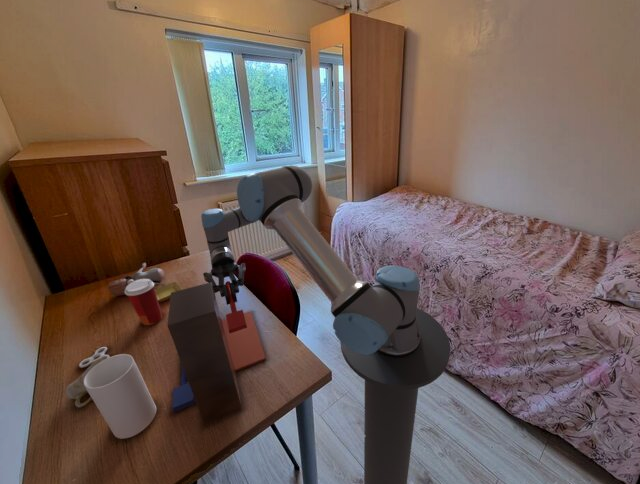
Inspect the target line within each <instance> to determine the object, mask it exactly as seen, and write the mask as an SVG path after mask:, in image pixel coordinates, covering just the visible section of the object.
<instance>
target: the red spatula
mask: <svg viewBox="0 0 640 484" xmlns="http://www.w3.org/2000/svg"><path fill="white" fill-rule="evenodd" d="M230 283H231V281H229V280H227V281H225V282H224V285H225V284H226V288H227V293H228V297H229V302H230V304H229V308H230V311H231V312H230V313H229V312H228V313H227V314H225V319H227V324H228V329H229V333H233V332H236V331H239V330H242V329H245V328H247V325H246V321H245V317H244V313H245V312H244V310H243V309H239V310H237V306H236V302H234V297H233V293H232V289H231V284H230Z"/></svg>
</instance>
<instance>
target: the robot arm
mask: <svg viewBox="0 0 640 484" xmlns="http://www.w3.org/2000/svg"><path fill="white" fill-rule="evenodd" d="M312 191H313V181H312V178H311V176H310V174H309V173H308V172H307V171H306V170H305V169H304V168H302V167H300V166H297V165H293V164H291V165H284V166H283V165H282V166H279V167H275V168H271V169H267V170H263V171H259V172H257V171H254V172H252V173H250V174H247V175H244V176H242V177H241V178H240V179H239V181H238V183H237V188H236V198H237V203H238V207H236V208H233V209H229V210H227V211H224V210H223V209H221V208H209V209H207V210H205V211H203V212H202V213H201V215H200V218H201V224H202V228H203V231H204V235H205V238H206V243H207V247H208V251H209V256H210V264H211V269H210V271H209V272H203V273H202V275H203V279H204V281H205V282H207V283H210V282H212V286H213V289H214V293H215V294H217V293H218V292H219V294H220V297H221V298H225V303H226V305H230V302H229V297H228V293H227V288H226V284H225V278H229V279H230V284H231V289H232V293H233V297H234V302H235V303H237V302H238V299H237V294H238V293H240V289H239V287H243V286H244V285H245V272H246V271H247V267H246V263H245V262H243V263H241V264H239V265H238V263H236V260H235V256H234V253H233V250H232V245H231V240H230V237H229V232H232V231H235V230H237V229H240V228H242V227H245V226H248V225H251V224H255V223H256V222H258V221H260V223H261V224H262V225H263V226H264V228H265V229H268V230H274V231H275V232H276V234H277V235H278V236H279V237H280V239H281V240H282V241H283V243H284V244H285V245H286V246H287V248H288V249H289V250H290V251H291V253H292V254H293V255H294V257H295V258H296V259H297V260H298V262H299V263H300V264H301V265H302V267H303V268H304V269H305V270H306V272H307V273H308V274H309V276H310V277H311V279H312V280H313V281H314V282H315V283H316V285H317V286H318V287H319V288H320V290H321V291H322V292H323V294H324V295H325V296H326V298H327V300H329V302H331V305H330V313H331V315H332V316H333V317H334V320H333V323H332V329H333V330H334V335H335V336H336V338H337V340H338V341H339V342H341V343H342V344H343V345H345V346H346V347H347V348H348V349H350V350H352V351H353V352H357V353H359V354H363V355H369V354H373V353H375V352H376V351H378V352H379V353H381V354H383V355H385V356H388V357H394V358H401V357H406V356H409V355H411V354H413V353H414V352H415V351H416V350H417V349H418V347H419V344H420V331H419V328H418V325H417V321H416V313H417V308H418V304H419V303H418V302H419V295H420V294H419V293H420V288H421V287H420V278H419V276H418V275H417V273H416V272H415V271H413V270H412V269H410V268H408V267H404V266H400V265H385V266H382V267H380V268H378V269H377V271H376V273H375V277H374V278H375V283H373V285H371V284H370V283H369V281H367V280H360V279H358V278H357V276H356V275H355V274H354V273H353V272H352V271H351V269H350V268H349V267H348V266H347V264H346V263H345V261H344V260H343V259H342V258H341V257H340V256H339V254H338V253H337V252H336V251H335V249H334V248H333V247H332V246H331V245H330V243H329V242H328V241H327V239H325V238H324V236H323V235H322V234H321V232H320V231H319V229H317V228H316V226H315V225H314V224H313V223H312V221H311V220H310V219H309V218H308V217H307V215H306V214H305V213H304V212H303V210H302V203H304V202H305V201H307V200H308V199H309V198H310V196H311V194H312ZM237 271H238V278H236V275H235V273H237ZM213 277H215V278H217V279H218V280H217V281H218V284H217V283H216V281H215V280H214V278H213Z"/></svg>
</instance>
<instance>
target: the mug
mask: <svg viewBox="0 0 640 484" xmlns="http://www.w3.org/2000/svg"><path fill="white" fill-rule="evenodd" d="M105 359H107V357H102V358H100V359H98V360H96V361H95V362H93V363H92V364H90V365H88V366H87V368H86V369H85V371H84V372H83V373H82V374H81V375H80V376H79V377H78V378H77V379H76V380H74V381H73V382H71V383H70V384H68V385H67V387H66V389H65V395H66V397H67V398H69V399H70V400H75V401H74V405H75V407H77V408H82V407H84V406H86V405H88V404H89V403H91V402H92V401H93V399H92V398H91V396H90V397H89V398H88V399H87V400H86V401H83V402H81V399H82V398H83V397H84V396H85V395H87V394H89V393H88V391H87V389H86V388H85V386H84V378H85V376H86V374H87V373H88V372H89V371H90V370H91V369H92V368H93V367H94V366H95V365H97V364H98V363H100V362H101V361H103V360H105Z"/></svg>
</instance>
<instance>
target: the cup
mask: <svg viewBox="0 0 640 484" xmlns="http://www.w3.org/2000/svg"><path fill="white" fill-rule="evenodd" d="M106 358H107V357H106ZM84 386H85V388H86V389H87V391H88V393H87V394H88V395H89V396H90V397H91V398H92V401H93V402H94V404H95V406H96V408H97V409H98V411H99V413H100V414H101V416H102V418H103V419H104V421H105V423H106V425H107V426H108V427H109V429H110V430H111V432H112V434H113V436H114V437H115V438H117V439H129V438H132V437H134V436H136V435H138V434H139V433H141V432H142V431H144V430H145V429H146V428H148V426H150V425H151V423H152V422H153V420H154V419H155V417H156V414H157V406H156V403H155V401H154V399H153V397H152V395H151V393H150V390H149V388H148V386H147V384H146V382H145V380H144V378H143V375H142V374H141V372H140V369H139V367H138V365H137V363H136V361H135V358H134V357H133V355H130V354H128V353H120V354H116V355H112V356H110V357H109V358H107V359H105V360H103V361H101V362H100V363H98V364H97V365H95V366H94V367H93V368H92V369H91V370H90V371H89V372H88V373H87V374H86V376H85V378H84Z"/></svg>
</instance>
